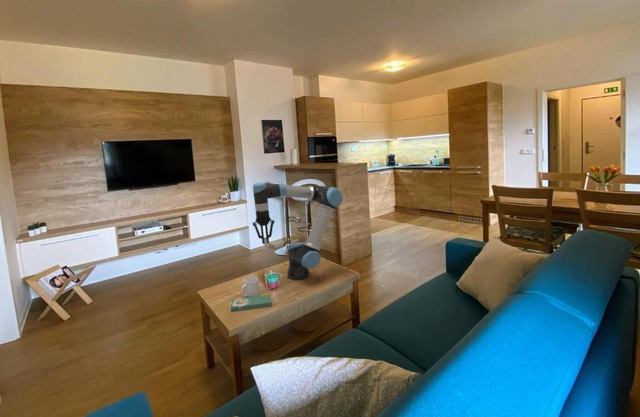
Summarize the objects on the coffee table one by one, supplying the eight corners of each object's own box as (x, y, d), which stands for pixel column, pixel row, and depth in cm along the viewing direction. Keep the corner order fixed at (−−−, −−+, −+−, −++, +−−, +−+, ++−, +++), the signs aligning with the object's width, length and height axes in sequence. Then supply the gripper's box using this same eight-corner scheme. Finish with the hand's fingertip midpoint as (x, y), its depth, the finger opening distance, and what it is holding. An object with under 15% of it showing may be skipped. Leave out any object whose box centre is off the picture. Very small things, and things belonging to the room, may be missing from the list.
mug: (237, 299, 199) (235, 282, 197) (253, 292, 208) (252, 275, 206) (246, 303, 194) (244, 285, 191) (262, 295, 202) (261, 278, 200)
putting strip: (270, 298, 198) (270, 294, 197) (271, 306, 188) (271, 302, 188) (232, 303, 194) (232, 299, 194) (231, 311, 184) (230, 307, 184)
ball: (246, 301, 192) (241, 298, 191) (246, 302, 188) (240, 299, 188) (243, 307, 191) (237, 303, 191) (242, 308, 188) (237, 305, 187)
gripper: (272, 207, 199) (276, 245, 204) (250, 209, 197) (255, 248, 201) (273, 209, 192) (277, 249, 197) (250, 212, 189) (255, 252, 194)
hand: (266, 248), depth 199 cm, fingers closed
